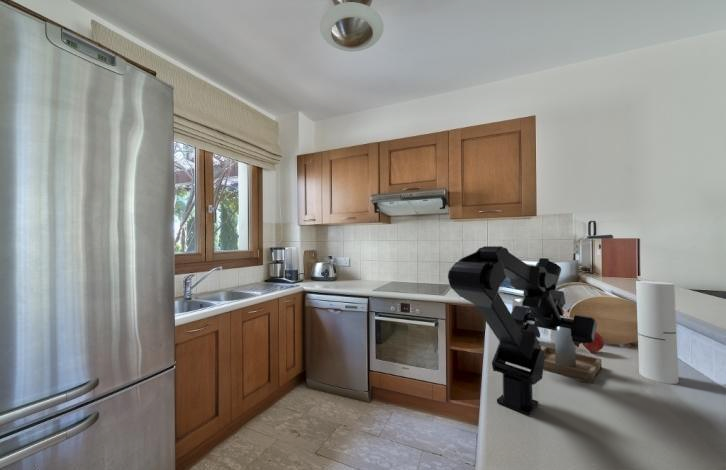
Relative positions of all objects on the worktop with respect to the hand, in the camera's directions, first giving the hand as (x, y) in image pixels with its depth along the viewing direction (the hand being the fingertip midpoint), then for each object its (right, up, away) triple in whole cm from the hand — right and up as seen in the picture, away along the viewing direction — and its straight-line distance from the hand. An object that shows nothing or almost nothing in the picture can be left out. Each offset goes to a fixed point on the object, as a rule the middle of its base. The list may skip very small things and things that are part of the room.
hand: (557, 340), depth 77 cm
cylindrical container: (+25, -9, -3) cm, 26 cm away
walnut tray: (+4, -9, +3) cm, 10 cm away
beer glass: (+5, -10, +25) cm, 27 cm away
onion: (+21, -10, +14) cm, 27 cm away
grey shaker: (+4, -8, +3) cm, 10 cm away
